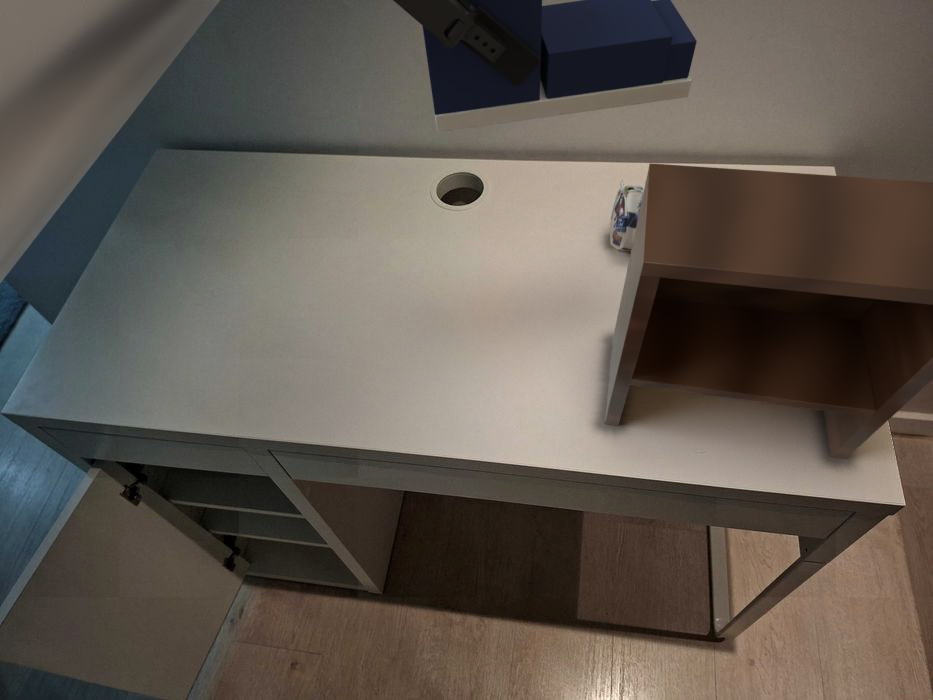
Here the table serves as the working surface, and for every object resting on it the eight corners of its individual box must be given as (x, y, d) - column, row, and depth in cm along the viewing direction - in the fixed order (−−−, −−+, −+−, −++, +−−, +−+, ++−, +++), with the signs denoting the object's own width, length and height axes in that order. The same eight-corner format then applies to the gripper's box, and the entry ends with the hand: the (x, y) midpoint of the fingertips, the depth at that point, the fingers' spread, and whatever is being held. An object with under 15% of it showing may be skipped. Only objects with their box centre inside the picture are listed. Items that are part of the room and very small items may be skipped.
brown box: (604, 423, 70) (643, 262, 47) (612, 341, 76) (649, 163, 53) (845, 459, 65) (1021, 298, 42) (832, 367, 72) (978, 184, 48)
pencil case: (608, 264, 84) (617, 212, 75) (606, 222, 88) (614, 168, 80) (772, 267, 81) (800, 213, 73) (761, 222, 86) (786, 167, 77)
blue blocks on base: (437, 132, 52) (416, -15, 42) (430, 81, 56) (410, -63, 46) (687, 97, 52) (726, -58, 42) (660, 48, 56) (689, -102, 46)
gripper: (250, -168, 45) (475, 20, 58) (216, -51, 33) (507, 151, 47) (297, -279, 41) (529, -48, 54) (277, -188, 29) (580, 78, 42)
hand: (519, 44), depth 50 cm, fingers closed on blue blocks on base, 8 cm apart
